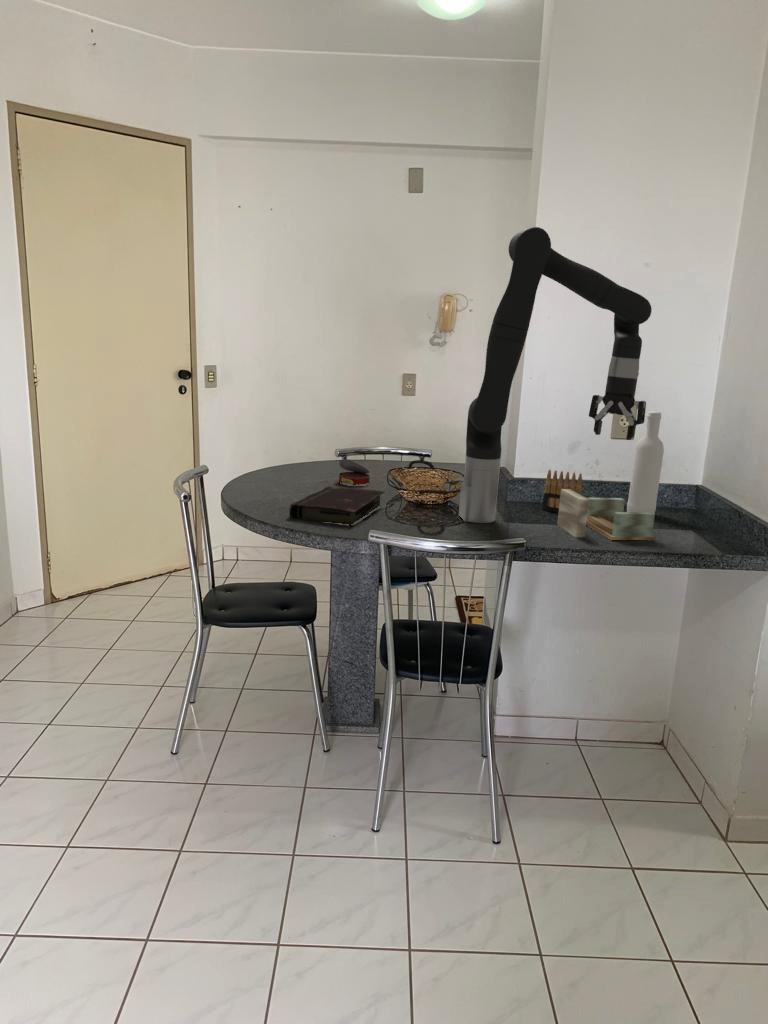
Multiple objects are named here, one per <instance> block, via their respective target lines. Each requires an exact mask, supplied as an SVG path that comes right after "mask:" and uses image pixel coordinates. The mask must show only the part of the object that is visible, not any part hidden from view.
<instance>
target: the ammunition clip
mask: <svg viewBox="0 0 768 1024" xmlns="http://www.w3.org/2000/svg"><path fill="white" fill-rule="evenodd" d="M576 478H577V475H576V472H575V471H574V472H573V473H572V476H571V481H570V472H569V471H567V472H566V474H565V478H564V472H563V470H561V471H560V474H559V476H558V471H557V469H555V471H554V472H553V475H552V471H551V469H550V468H549V470H548V471H547V475H546V481H545V485H544V493H543V499H542V505H541V510H542V511H549V512H554V513H558V512H559V504H560V495H561V489H571V490H572V491H574V492H576V493H578V494H580V495H582V490H583V483H582V482H583V475H582V473H581V472H580V473H579V474H578V478H577V479H576ZM576 480H577V484H576Z"/></svg>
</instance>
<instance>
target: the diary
mask: <svg viewBox="0 0 768 1024" xmlns="http://www.w3.org/2000/svg"><path fill="white" fill-rule="evenodd" d="M384 493H385V491H383V490H375V489H368V488H367V489H366V488H359V487H346V486H345V487H344V486H342V487H340V486H329V485H328V486H327V487H324V488H323V489H321V490H319V491H317V492H314V493H312V494H309V495H308V496H306V497H304V498H302V499H300V500H297V501H295V502H293V503H290V505H289V519H291V520H293V519H294V518H297V517H298V520H301V519H302V520H304V519H306V521H311V520H315V521H314V522H319V521H323V522H332V523H342V524H349V526H352V527H355V526H354V525H351V524H353V523H354V522H355V521H357V520H359V519H360V518H362V517H363V516H365V515H368V514H369V512H371V511H372V510H374V509H375V508H377V507H378V506H381V495H383V494H384ZM302 517H303V518H302ZM300 518H301V519H300Z"/></svg>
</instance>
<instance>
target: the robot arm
mask: <svg viewBox="0 0 768 1024" xmlns="http://www.w3.org/2000/svg"><path fill="white" fill-rule="evenodd" d="M508 255H509V257H510V260H511V261H512V267H511V272H510V276H509V281H508V284H507V286H506V289H505V290H504V294H503V296H502V297H501V300H500V302H499V304H498V306H497V308H496V311H495V313H494V316H493V319H492V323H491V326H490V331H489V334H488V339H487V340H488V341H487V345H486V352H485V353H486V354H485V368H484V375H483V380H482V383H481V387H480V389H479V392H478V395H477V397H476V398H474V399H473V400H472V402H471V403H470V404H469V406H468V407H469V408H468V410H467V411H468V413H467V424H466V437H465V438H466V439H465V447H466V448H465V449H466V451H465V462H464V474H463V475H464V476H463V481H462V482H461V483H460V496H459V505H458V506H459V508H458V517H459V516H460V517H461V518H462V519H463V520H462V519H461V518H460V517H459V518H460V519H461V520H462V521H463V522H466V523H467V522H469V523H475V524H476V523H477V524H490V523H494V522H495V521H496V514H497V513H496V511H497V501H498V492H499V491H498V490H499V479H500V471H501V459H502V429H503V426H504V424H505V422H506V419H507V414H508V408H509V407H508V406H509V400H510V395H511V389H512V385H513V380H514V377H515V374H516V372H517V369H518V366H519V363H520V361H521V357H522V353H523V349H524V346H525V344H526V339H527V335H528V332H529V327H530V323H531V319H532V315H533V311H534V310H533V309H534V305H535V300H536V295H537V291H538V288H539V285H540V281H541V279H542V276H545V277H547V278H549V279H550V280H553V281H554V282H557V283H558V284H560V285H561V286H563V287H565V288H566V289H568V290H570V291H572V292H573V293H575V294H576V295H578V296H579V297H581V298H583V299H585V300H586V301H588V302H589V303H591V304H593V305H595V306H596V307H598V308H600V309H604V310H608V311H610V312H612V313H613V314H614V315H613V335H614V336H613V337H614V339H613V345H612V346H613V347H612V352H611V359H610V363H609V365H608V370H607V371H608V372H607V377H606V378H607V379H606V386H605V391H604V395H603V396H601V395H599V394H594V395H592V399H591V402H590V406H589V412H588V416H589V418H592V419H594V425H593V432H594V434H595V436H600V435H601V432H602V427H603V418H605V417H606V416H607V415H608V414H609V415H610V414H611V415H618V416H624V417H625V418H624V419H626V421H627V422H628V424H629V425H628V426H627V431H626V438H625V439H626V440H627V441H632V439H633V438H634V437H635V434H636V428H637V426H638V425H643V424H644V423H645V420H646V409H647V402H646V400H640V401H639V400H636V399H635V396H636V391H637V390H636V389H637V384H638V378H639V374H640V372H639V371H640V359H641V353H642V346H643V339H642V338H641V336H640V325H641V324H644V323H645V322H647V321H648V320H649V319H650V317H651V315H652V309H653V308H652V304H651V303H650V301H649V300H648V299H647V298H646V297H644V296H643V295H642V294H640V293H638V292H635V291H633V290H630V289H628V288H626V287H624V286H622V285H619V284H617V283H616V282H615V281H613V280H612V279H610V278H609V277H607V276H605V275H603V274H602V273H600V272H599V271H596V270H595V269H593V268H590V267H588V266H586V265H583V264H581V263H579V262H576V261H574V260H572V259H569V258H567V257H566V256H564V255H562V254H561V253H559V252H557V251H556V250H555V249H554V248H553V247H552V240H551V238H550V235H549V234H548V232H547V231H546V230H545V229H543V228H541V227H539V226H531V227H527V228H524V229H522V230H520V231H519V232H517V233H516V234H514V236H512V237H511V239H510V241H509V245H508ZM602 403H603V405H604V407H603V408H602V409H600V411H599V412H598V409H599V404H602ZM633 407H635V408H636V410H637V416H636V418H635V415H634V412H633V410H632V409H633Z"/></svg>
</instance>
